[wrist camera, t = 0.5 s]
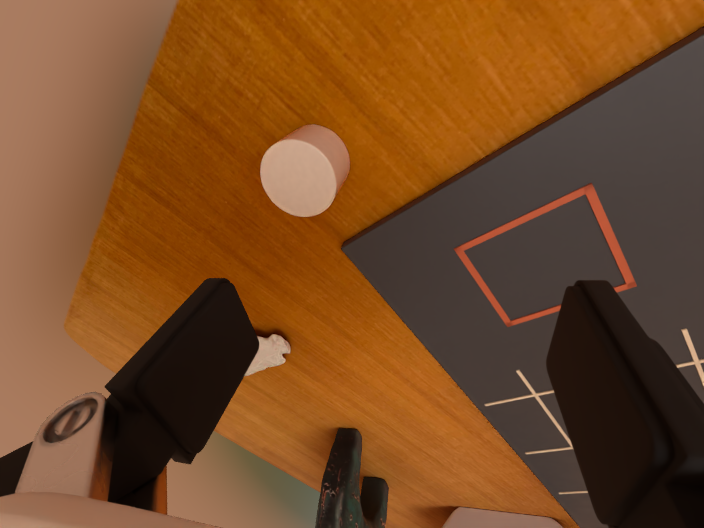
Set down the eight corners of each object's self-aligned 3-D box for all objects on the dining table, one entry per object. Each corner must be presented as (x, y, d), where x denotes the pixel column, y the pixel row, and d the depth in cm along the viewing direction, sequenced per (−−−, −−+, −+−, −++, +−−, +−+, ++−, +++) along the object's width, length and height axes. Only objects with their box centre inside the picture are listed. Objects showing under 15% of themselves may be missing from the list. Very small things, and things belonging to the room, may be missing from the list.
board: (343, 242, 27) (340, 249, 26) (733, 8, 15) (752, 6, 14) (584, 526, 46) (586, 536, 45) (835, 525, 34) (846, 537, 33)
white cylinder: (294, 110, 21) (269, 123, 18) (361, 145, 22) (348, 163, 18) (276, 175, 24) (252, 196, 21) (335, 204, 25) (320, 229, 21)
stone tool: (271, 313, 34) (195, 357, 41) (263, 328, 32) (186, 371, 39) (307, 345, 36) (229, 381, 43) (302, 360, 35) (222, 396, 42)
